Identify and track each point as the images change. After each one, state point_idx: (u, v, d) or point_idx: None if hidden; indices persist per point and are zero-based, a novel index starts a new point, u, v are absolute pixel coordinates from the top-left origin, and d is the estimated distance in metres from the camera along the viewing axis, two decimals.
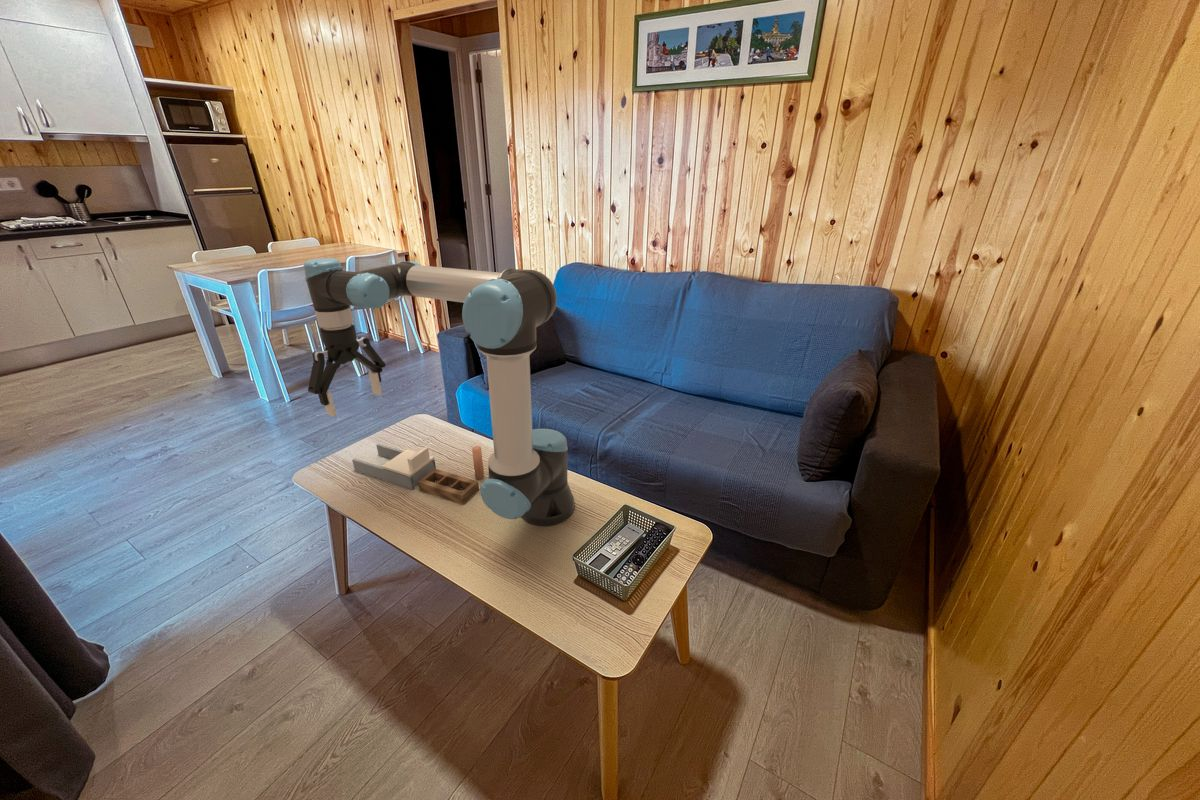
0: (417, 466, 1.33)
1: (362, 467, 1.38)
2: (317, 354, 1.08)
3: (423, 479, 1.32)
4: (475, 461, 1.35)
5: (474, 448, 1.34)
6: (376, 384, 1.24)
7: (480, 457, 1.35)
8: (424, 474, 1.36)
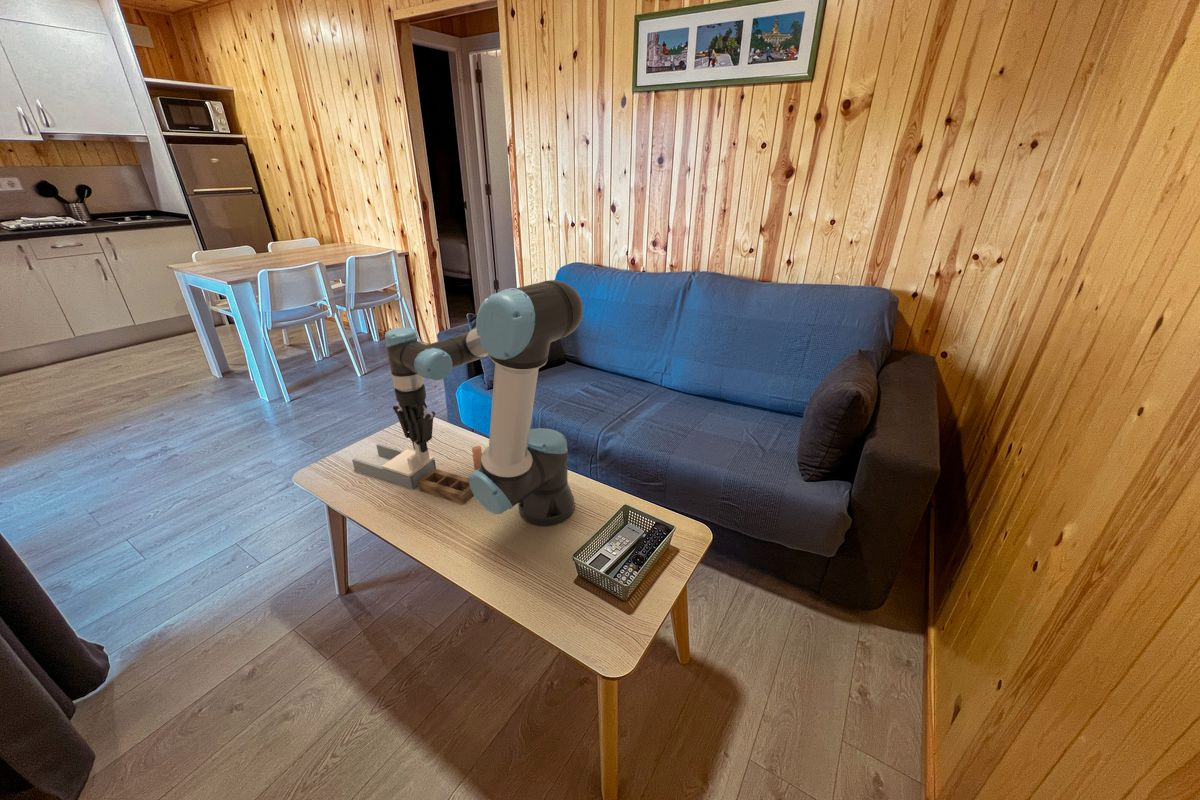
0: (417, 466, 1.33)
1: (362, 467, 1.38)
2: None
3: (423, 479, 1.32)
4: (475, 461, 1.35)
5: (474, 448, 1.34)
6: None
7: (480, 457, 1.35)
8: (424, 474, 1.36)
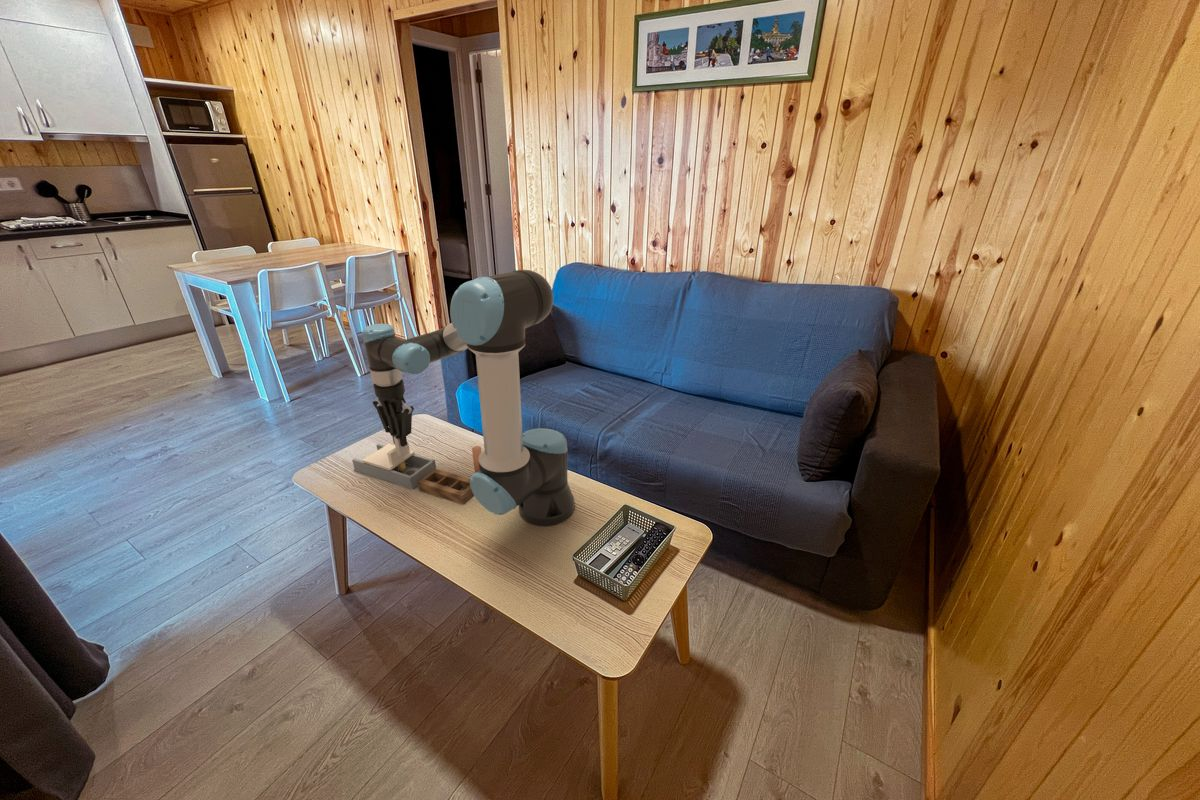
0: (397, 460, 1.35)
1: (362, 467, 1.38)
2: None
3: (423, 479, 1.32)
4: (475, 461, 1.35)
5: (474, 448, 1.34)
6: None
7: None
8: (424, 474, 1.36)
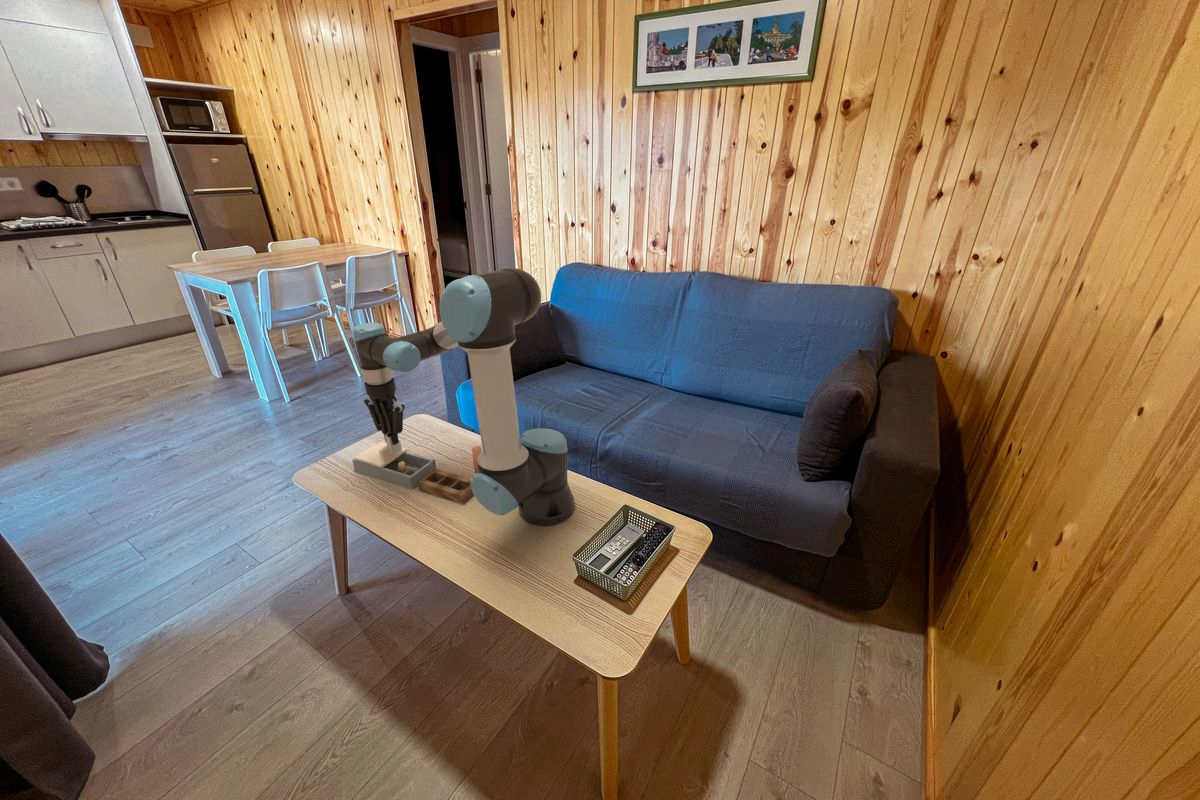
0: (389, 457, 1.37)
1: (362, 467, 1.38)
2: None
3: (423, 479, 1.32)
4: (475, 461, 1.35)
5: (474, 448, 1.34)
6: None
7: None
8: (424, 474, 1.36)
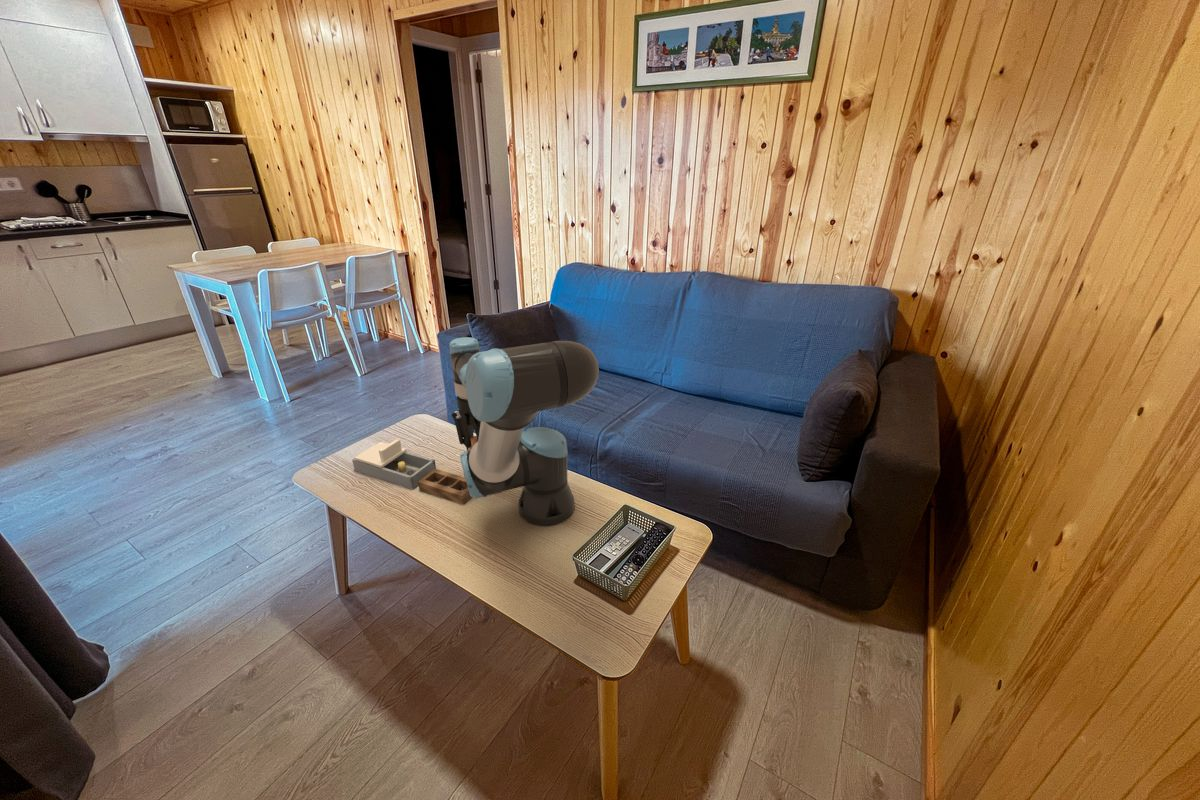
0: (389, 457, 1.37)
1: (362, 467, 1.38)
2: None
3: (423, 479, 1.32)
4: None
5: (473, 438, 1.32)
6: None
7: None
8: (424, 474, 1.36)
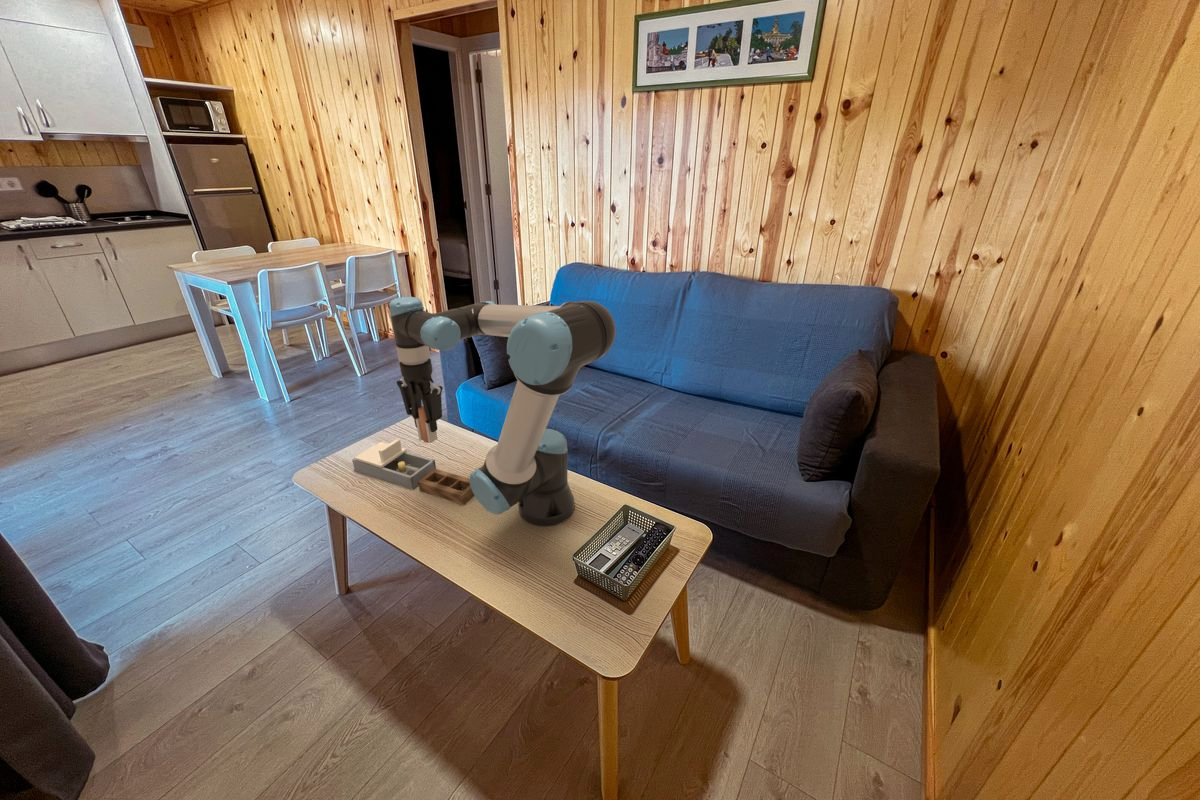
0: (389, 457, 1.37)
1: (362, 467, 1.38)
2: None
3: (423, 479, 1.32)
4: (422, 422, 1.23)
5: (420, 407, 1.23)
6: None
7: None
8: (424, 474, 1.36)
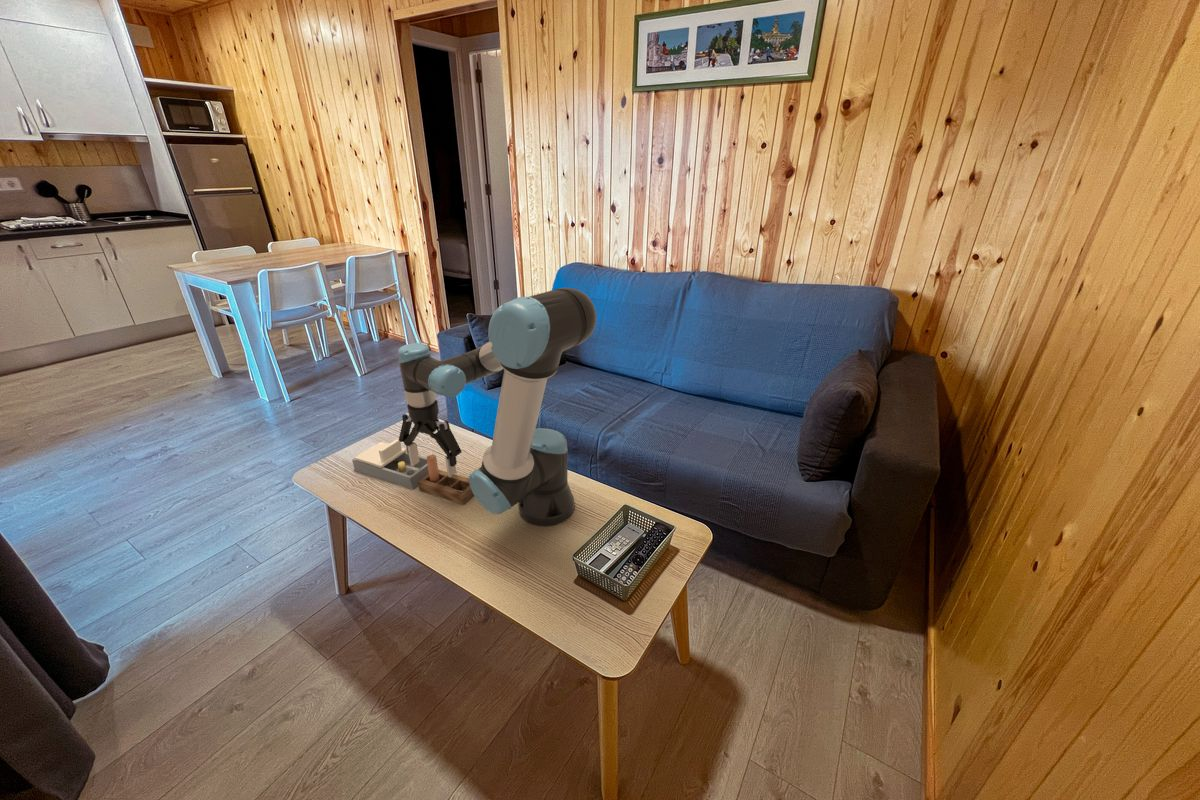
0: (389, 457, 1.37)
1: (362, 467, 1.38)
2: None
3: (423, 479, 1.32)
4: (430, 470, 1.30)
5: (429, 457, 1.29)
6: None
7: (435, 467, 1.30)
8: (424, 474, 1.36)
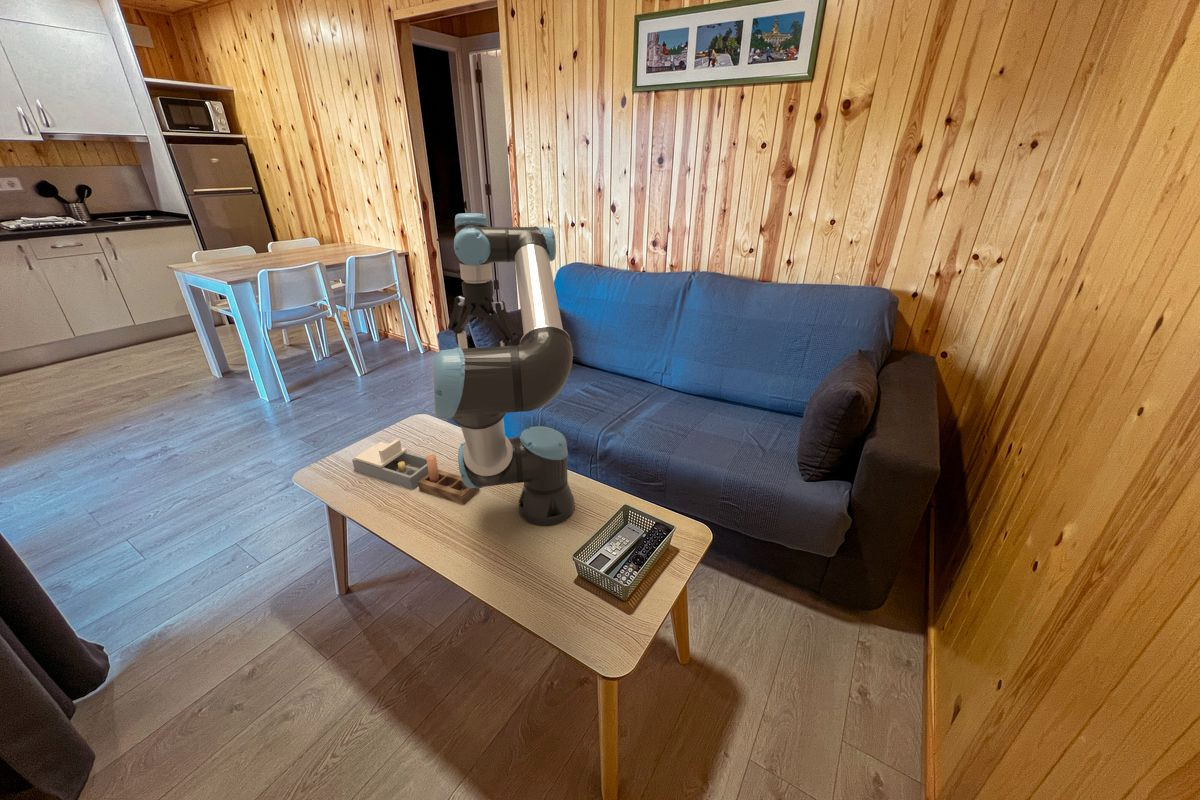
0: (389, 457, 1.37)
1: (362, 467, 1.38)
2: None
3: (423, 479, 1.32)
4: (430, 470, 1.30)
5: (429, 457, 1.30)
6: None
7: (435, 466, 1.30)
8: (424, 474, 1.36)
